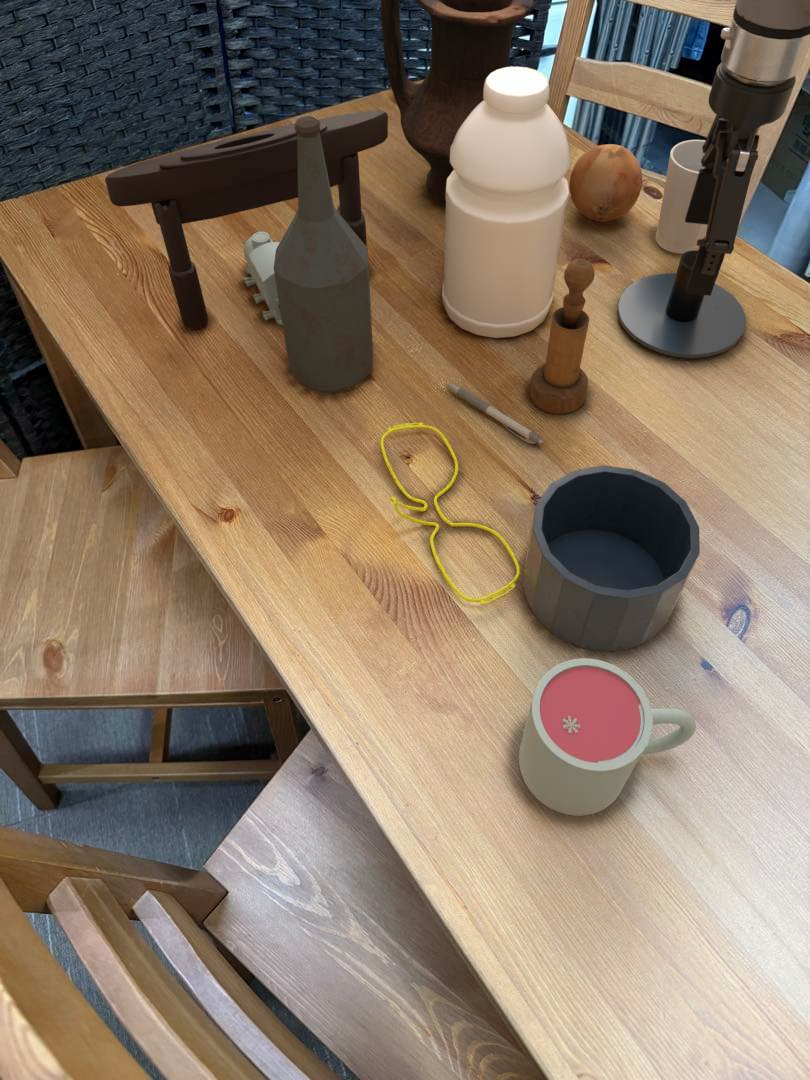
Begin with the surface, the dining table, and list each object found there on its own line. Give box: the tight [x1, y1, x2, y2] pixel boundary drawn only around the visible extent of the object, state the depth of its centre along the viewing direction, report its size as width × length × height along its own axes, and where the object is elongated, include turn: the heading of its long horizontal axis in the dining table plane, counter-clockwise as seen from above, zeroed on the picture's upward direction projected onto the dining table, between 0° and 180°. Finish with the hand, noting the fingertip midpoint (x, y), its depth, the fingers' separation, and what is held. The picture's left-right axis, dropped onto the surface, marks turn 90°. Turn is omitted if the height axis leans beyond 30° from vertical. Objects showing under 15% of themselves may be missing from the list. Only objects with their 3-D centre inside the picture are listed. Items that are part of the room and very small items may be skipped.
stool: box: [104, 109, 389, 330], centre depth 103 cm, size 16×21×33 cm
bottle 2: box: [441, 66, 572, 339], centre depth 98 cm, size 14×14×28 cm
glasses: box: [379, 422, 521, 606], centre depth 87 cm, size 25×10×5 cm, turn 22°
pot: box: [522, 464, 701, 652], centre depth 80 cm, size 15×15×10 cm
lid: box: [616, 250, 747, 359], centre depth 104 cm, size 16×16×9 cm
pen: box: [445, 382, 543, 445], centre depth 97 cm, size 1×14×1 cm, turn 47°
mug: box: [518, 657, 697, 817], centre depth 69 cm, size 14×9×10 cm
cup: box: [655, 139, 708, 255], centre depth 112 cm, size 8×8×12 cm
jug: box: [380, 0, 539, 206], centre depth 113 cm, size 21×18×30 cm
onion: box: [568, 143, 643, 223], centre depth 117 cm, size 10×10×10 cm
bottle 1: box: [274, 115, 374, 395], centre depth 91 cm, size 10×10×30 cm
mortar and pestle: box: [529, 258, 596, 415], centre depth 92 cm, size 7×6×18 cm
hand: (697, 255), depth 100 cm, fingers open, 13 cm apart
